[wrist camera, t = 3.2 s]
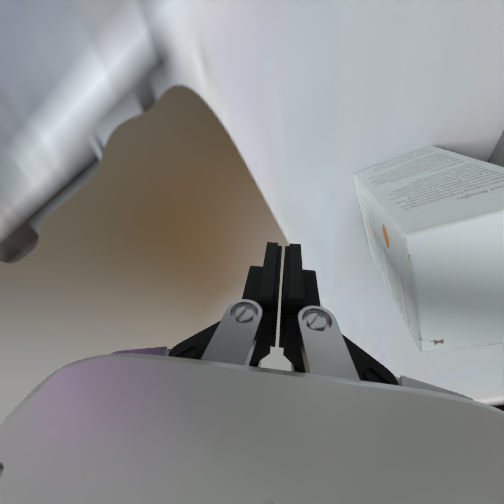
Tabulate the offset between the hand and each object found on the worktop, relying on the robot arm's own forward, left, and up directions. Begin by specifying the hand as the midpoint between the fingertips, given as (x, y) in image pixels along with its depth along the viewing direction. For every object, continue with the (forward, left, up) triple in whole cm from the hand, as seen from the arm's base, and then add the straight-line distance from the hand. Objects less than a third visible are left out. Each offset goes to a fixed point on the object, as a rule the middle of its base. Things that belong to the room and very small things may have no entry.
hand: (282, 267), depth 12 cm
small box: (0, +9, -10) cm, 13 cm away
